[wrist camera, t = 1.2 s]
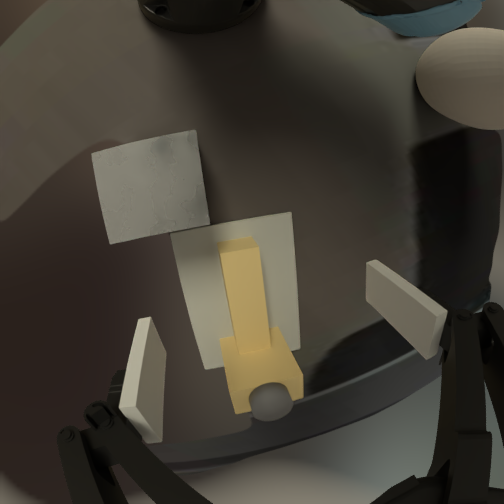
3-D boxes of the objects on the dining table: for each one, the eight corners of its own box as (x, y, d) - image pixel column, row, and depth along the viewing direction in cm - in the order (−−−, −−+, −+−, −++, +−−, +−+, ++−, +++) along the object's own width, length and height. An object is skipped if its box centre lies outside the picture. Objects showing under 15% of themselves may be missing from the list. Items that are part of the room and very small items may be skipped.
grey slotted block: (115, 153, 27) (91, 153, 20) (195, 136, 29) (196, 129, 21) (128, 223, 30) (110, 244, 23) (206, 207, 31) (210, 224, 24)
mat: (170, 232, 31) (169, 233, 31) (290, 211, 33) (291, 212, 33) (204, 368, 38) (205, 369, 38) (299, 347, 40) (300, 348, 40)
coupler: (199, 245, 32) (203, 294, 21) (268, 233, 33) (306, 273, 22) (224, 361, 38) (238, 428, 27) (280, 349, 39) (309, 410, 28)
